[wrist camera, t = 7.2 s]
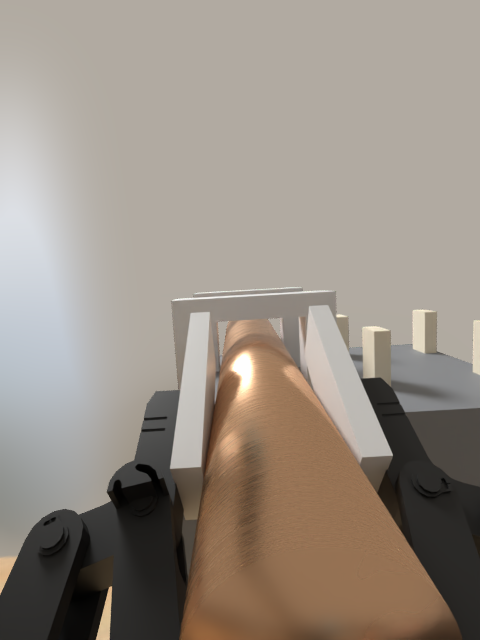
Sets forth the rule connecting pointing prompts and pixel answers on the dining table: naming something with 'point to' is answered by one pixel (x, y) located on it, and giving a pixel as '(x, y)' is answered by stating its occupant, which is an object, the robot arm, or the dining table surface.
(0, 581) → the dining table surface
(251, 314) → the grey pedestal with pegs
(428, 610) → the copper tube
